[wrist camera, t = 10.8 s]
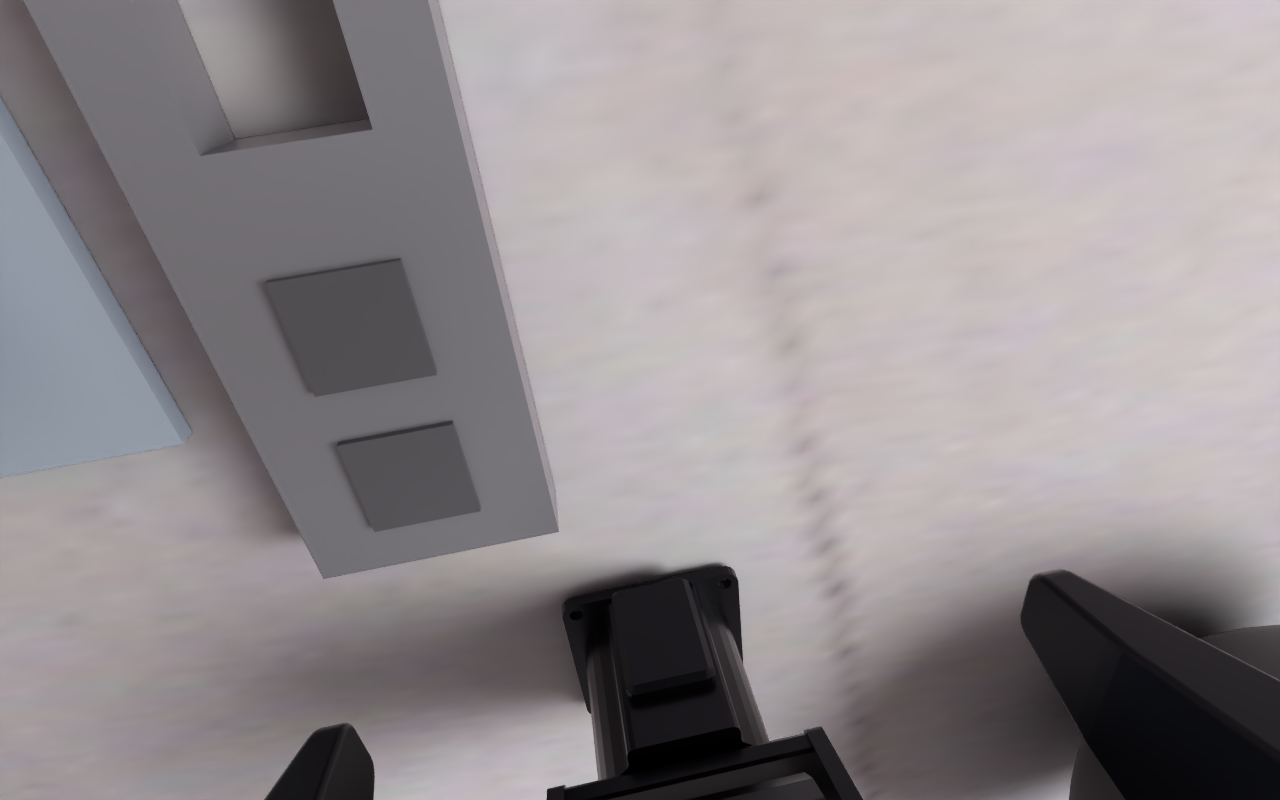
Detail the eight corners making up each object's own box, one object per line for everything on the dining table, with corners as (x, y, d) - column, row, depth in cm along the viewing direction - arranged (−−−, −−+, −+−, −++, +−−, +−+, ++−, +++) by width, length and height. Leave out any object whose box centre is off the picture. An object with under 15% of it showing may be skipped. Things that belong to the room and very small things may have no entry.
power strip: (555, 491, 22) (560, 550, 19) (338, 532, 21) (316, 599, 19) (238, -836, 9) (142, -1125, 7) (-305, -811, 9) (-607, -1112, 6)
